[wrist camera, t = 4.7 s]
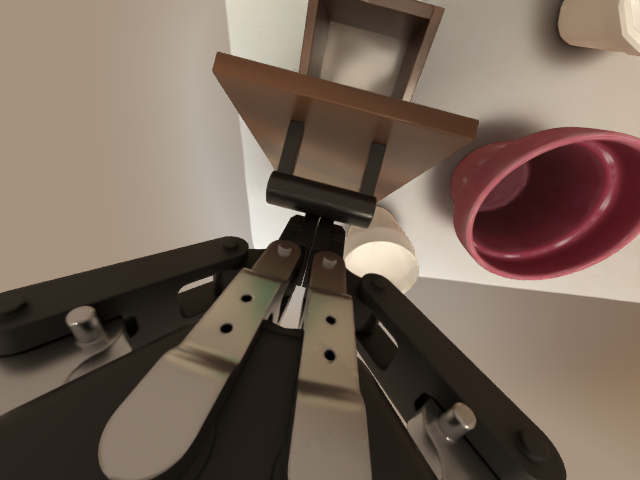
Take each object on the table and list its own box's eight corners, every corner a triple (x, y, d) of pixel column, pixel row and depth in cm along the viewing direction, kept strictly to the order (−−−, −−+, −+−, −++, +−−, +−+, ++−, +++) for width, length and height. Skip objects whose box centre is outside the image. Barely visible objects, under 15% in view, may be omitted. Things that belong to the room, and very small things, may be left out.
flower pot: (557, 97, 26) (704, 96, 15) (547, 208, 32) (646, 265, 21) (422, 144, 30) (459, 170, 19) (436, 235, 36) (471, 293, 25)
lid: (216, 50, 9) (184, 174, 9) (480, 119, 9) (447, 243, 9) (284, 174, 25) (272, 216, 25) (375, 197, 25) (363, 240, 25)
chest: (325, 11, 24) (312, -28, 17) (418, 35, 25) (445, 8, 17) (300, 158, 33) (284, 176, 25) (369, 176, 33) (373, 199, 25)
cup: (334, 212, 36) (326, 255, 26) (390, 188, 33) (405, 227, 23) (357, 255, 40) (357, 308, 30) (409, 238, 37) (430, 290, 27)
